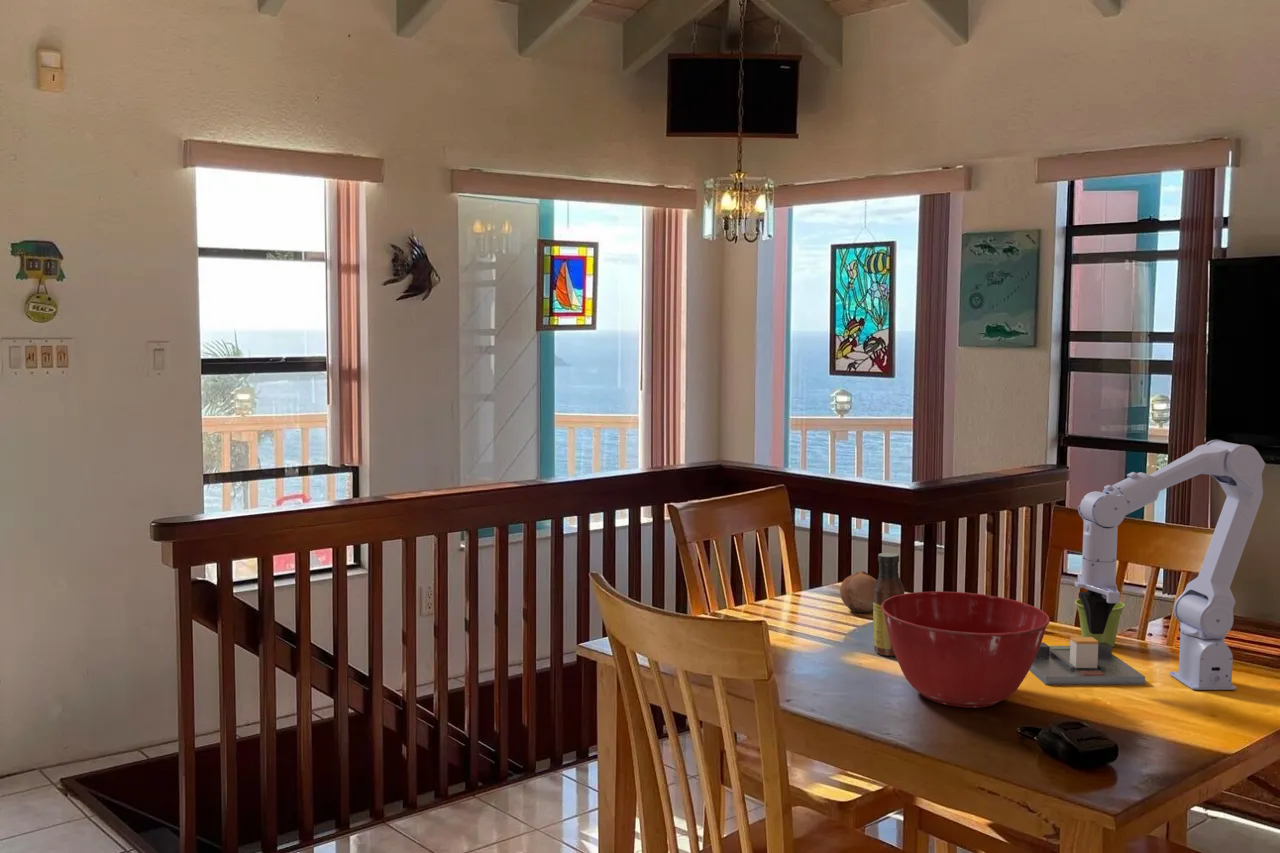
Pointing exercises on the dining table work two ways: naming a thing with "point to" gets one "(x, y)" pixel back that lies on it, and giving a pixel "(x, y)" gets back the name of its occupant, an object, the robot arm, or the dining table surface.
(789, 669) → the dining table surface
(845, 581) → the onion
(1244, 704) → the dining table surface
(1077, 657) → the white orange block
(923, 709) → the dining table surface
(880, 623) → the sauce bottle
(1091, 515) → the robot arm
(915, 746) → the dining table surface
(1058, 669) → the panel
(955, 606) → the mixing bowl
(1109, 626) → the plant pot
